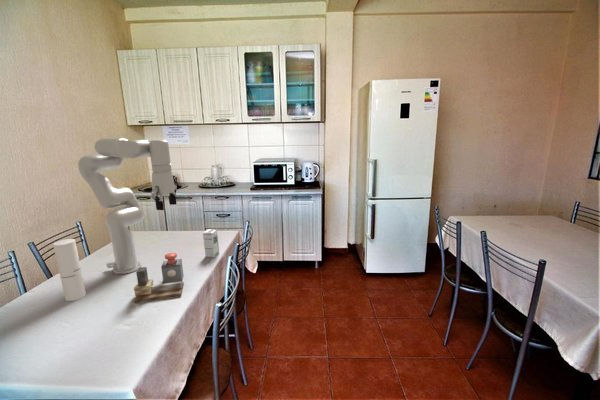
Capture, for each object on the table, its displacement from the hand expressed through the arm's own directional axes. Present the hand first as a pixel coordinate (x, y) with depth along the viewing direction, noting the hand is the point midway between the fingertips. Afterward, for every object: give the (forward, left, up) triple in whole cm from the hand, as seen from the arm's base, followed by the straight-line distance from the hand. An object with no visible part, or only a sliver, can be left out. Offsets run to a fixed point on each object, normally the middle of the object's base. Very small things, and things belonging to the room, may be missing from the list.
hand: (166, 207), depth 131 cm
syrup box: (+16, +25, -36) cm, 47 cm away
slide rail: (-5, -11, -36) cm, 38 cm away
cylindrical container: (-40, -3, -36) cm, 54 cm away
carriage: (-11, -11, -34) cm, 37 cm away
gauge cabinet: (-1, 0, -36) cm, 36 cm away
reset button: (-1, 0, -29) cm, 29 cm away
